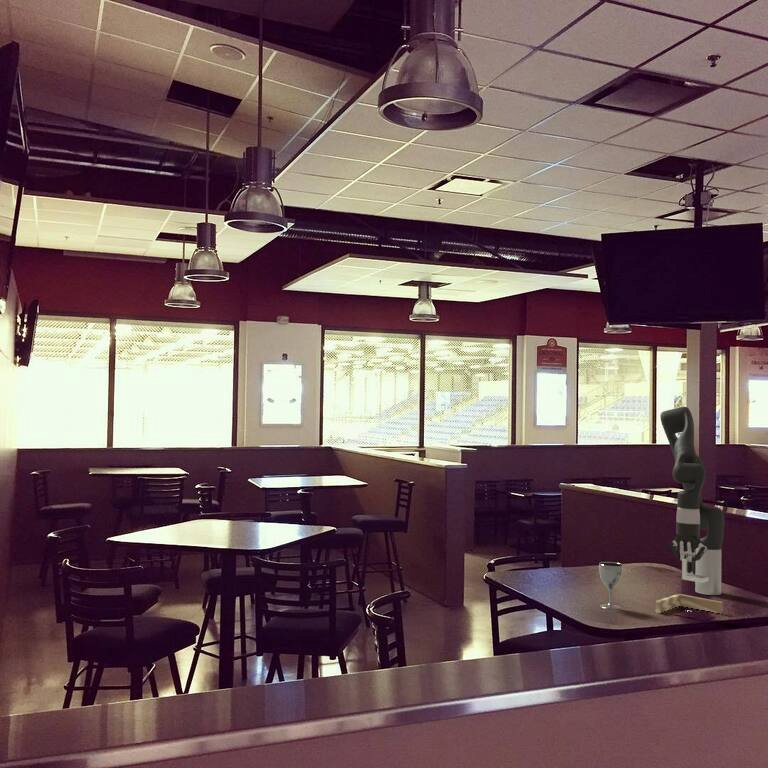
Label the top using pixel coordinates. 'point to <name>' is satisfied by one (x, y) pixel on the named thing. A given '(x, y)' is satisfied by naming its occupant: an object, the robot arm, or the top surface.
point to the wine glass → (610, 579)
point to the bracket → (690, 575)
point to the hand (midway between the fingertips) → (687, 572)
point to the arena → (688, 603)
